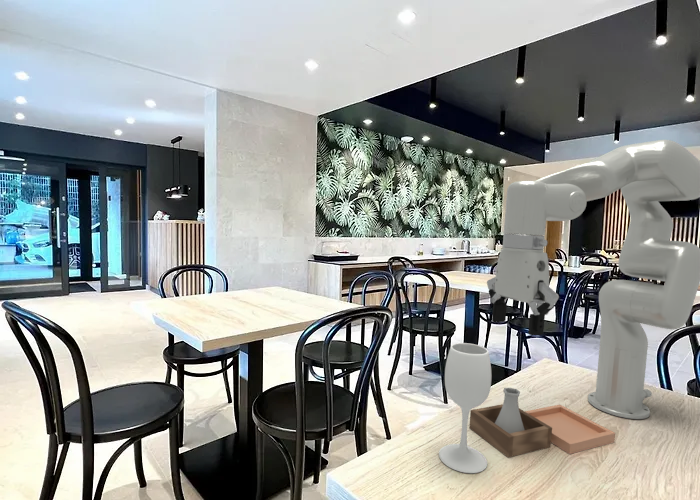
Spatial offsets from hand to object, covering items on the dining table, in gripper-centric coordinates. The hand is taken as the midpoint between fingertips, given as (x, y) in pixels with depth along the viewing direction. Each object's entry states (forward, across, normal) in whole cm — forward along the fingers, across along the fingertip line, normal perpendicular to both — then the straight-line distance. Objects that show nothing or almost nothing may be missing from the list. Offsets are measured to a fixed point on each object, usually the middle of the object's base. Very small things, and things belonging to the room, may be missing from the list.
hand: (516, 327), depth 78 cm
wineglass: (+24, -3, +14) cm, 27 cm away
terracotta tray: (+23, -2, -14) cm, 27 cm away
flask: (+23, 0, 0) cm, 23 cm away
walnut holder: (+23, 0, 0) cm, 23 cm away
